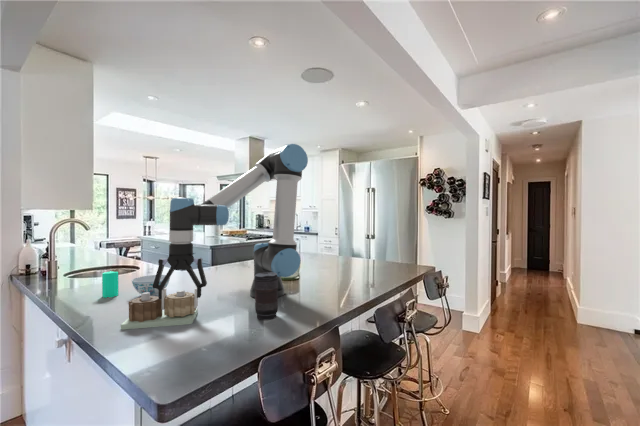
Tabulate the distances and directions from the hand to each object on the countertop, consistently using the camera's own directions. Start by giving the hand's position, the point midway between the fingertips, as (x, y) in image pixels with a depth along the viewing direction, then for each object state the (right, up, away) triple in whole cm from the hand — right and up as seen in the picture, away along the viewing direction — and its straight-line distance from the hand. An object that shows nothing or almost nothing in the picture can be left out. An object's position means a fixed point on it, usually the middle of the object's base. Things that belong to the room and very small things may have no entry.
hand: (180, 307), depth 109 cm
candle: (-45, -5, +32) cm, 55 cm away
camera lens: (+29, -4, +2) cm, 30 cm away
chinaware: (-27, -4, +32) cm, 42 cm away
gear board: (-6, -4, -1) cm, 7 cm away
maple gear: (0, -2, 0) cm, 2 cm away
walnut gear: (-10, -2, -2) cm, 11 cm away
